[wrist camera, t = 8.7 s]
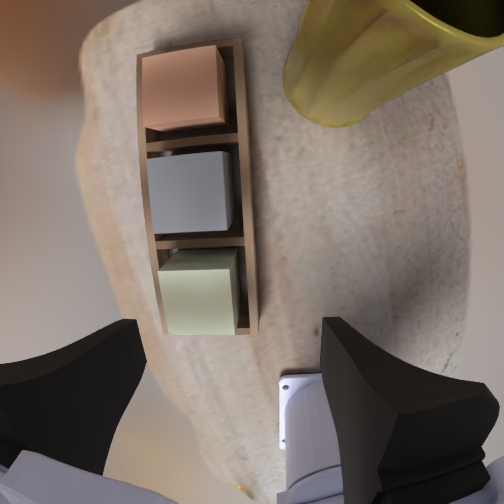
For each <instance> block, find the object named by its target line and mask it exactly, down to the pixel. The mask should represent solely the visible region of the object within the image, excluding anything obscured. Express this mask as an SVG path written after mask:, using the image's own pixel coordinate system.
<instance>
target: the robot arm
mask: <svg viewBox="0 0 504 504" xmlns="http://www.w3.org/2000/svg"><path fill="white" fill-rule="evenodd" d="M146 362H147V360H146V356H145V352H144V349H143V345H142V341H141V337H140V333H139V329H138V324H137V320H136V319H122V320H119V321H116V322H114V323H112V324H110V325H108V326H106V327H104V328H102V329H100V330H98V331H96V332H94V333H92V334H90V335H88V336H86V337H84V338H82V339H80V340H78V341H76V342H74V343H72V344H70V345H67V346H65V347H63V348H61V349H58V350H56V351H53V352H50V353H47V354H45V355H41V356H38V357H34V358H30V359H27V360H22V361H18V362H12V363H5V364H0V504H179V503H177V502H175V501H173V500H171V499H169V498H167V497H165V496H163V495H161V494H159V493H157V492H155V491H152V490H148V489H145V488H142V487H139V486H136V485H133V484H130V483H126V482H122V481H118V480H114V479H110V478H107V477H104V476H102V475H103V471H104V467H105V463H106V459H107V456H108V452H109V448H110V445H111V442H112V439H113V436H114V434H115V431H116V428H117V426H118V423H119V421H120V419H121V417H122V415H123V413H124V411H125V409H126V408H127V406H128V404H129V402H130V400H131V398H132V396H133V394H134V392H135V390H136V388H137V386H138V384H139V382H140V380H141V378H142V375H143V372H144V369H145V366H146ZM320 366H321V373H317V374H301V375H284V376H282V377H280V379H279V447H280V448H281V449H284V450H286V491H284V492H280V493H277V504H504V456H503V457H501V458H499V459H497V460H495V461H493V462H492V463H491V464H489V465H488V466H487V467H486V468H485V466H484V464H483V462H482V460H483V459H484V457H485V452H484V451H483V449H482V447H481V446H482V445H483V443H484V442H485V440H486V438H487V437H488V435H489V433H490V432H491V430H492V428H493V427H494V425H495V423H496V420H497V418H498V415H499V409H500V406H499V403H498V401H497V399H496V398H495V397H494V395H493V394H492V393H491V392H490V390H489V389H488V388H487V387H486V385H485V384H484V383H480V382H473V381H466V380H459V379H454V378H450V377H446V376H442V375H439V374H435V373H432V372H429V371H426V370H424V369H421V368H418V367H416V366H413V365H411V364H409V363H406V362H404V361H402V360H401V359H399V358H397V357H395V356H393V355H391V354H389V353H388V352H386V351H384V350H383V349H381V348H380V347H378V346H377V345H375V344H374V343H372V342H371V341H369V340H368V339H367V338H365V337H364V336H363V335H361V334H360V333H359V332H358V331H356V330H355V329H354V328H353V327H351V326H350V325H349V324H348V323H347V322H345V321H344V320H343V319H342V318H340V317H339V316H338V317H323V321H322V339H321V355H320ZM284 385H288V386H287V387H284Z"/></svg>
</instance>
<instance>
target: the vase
mask: <svg viewBox="0 0 504 504" xmlns="http://www.w3.org/2000/svg"><path fill="white" fill-rule="evenodd" d="M502 46H504V0H307V2H306V4H305V6H304V9H303V12H302V14H301V18H300V23H299V28H298V34H297V37H296V40H295V42H294V44H293V46H292V48H291V51H290V53H289V56H288V60H287V62H286V64H285V66H284V70H283V85H284V90H285V93H286V96H287V98H288V100H289V101H290V103H291V104H292V105H293V107H294V108H295V109H296V110H297V111H298V112H299V113H300V114H301V115H302V116H304V117H305V118H306V119H308V120H310V121H312V122H314V123H316V124H319V125H322V126H326V127H334V128H338V127H346V126H350V125H353V124H356V123H358V122H360V121H361V120H363V119H364V118H365V117H366V116H367V115H368V114H369V113H370V112H371V111H373V110H374V109H376V108H377V107H379V106H380V105H382V104H384V103H385V102H387V101H389V100H391V99H393V98H395V97H397V96H399V95H401V94H403V93H405V92H406V91H408V90H410V89H412V88H414V87H416V86H418V85H420V84H422V83H424V82H426V81H428V80H430V79H432V78H434V77H436V76H438V75H441V74H443V73H445V72H447V71H449V70H452V69H454V68H456V67H458V66H460V65H462V64H464V63H466V62H468V61H470V60H473V59H475V58H477V57H479V56H481V55H483V54H485V53H487V52H490V51H492V50H494V49H497V48H500V47H502Z"/></svg>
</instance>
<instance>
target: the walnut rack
mask: <svg viewBox="0 0 504 504" xmlns="http://www.w3.org/2000/svg"><path fill="white" fill-rule="evenodd" d="M227 57H234V71H235V89H236V107H237V125H238V133H230V134H218V135H207V136H198V137H189V138H180V139H173V140H165V141H158V142H157V130H158V131H162V132H166V133H170V132H178V131H186V130H194V129H203V128H213V127H223V126H229V113H228V95H227V75H226V66H225V64H224V62H223V59H222V58H227ZM137 127H138V147H139V163H140V176H141V187H142V197H143V207H144V216H145V224H146V232H147V240H148V247H149V254H150V261H151V268H152V274H153V280H154V286H155V292H156V297H157V303H158V308H159V313H160V319H161V324H162V328H163V333H164V334H179V335H258V334H259V301H258V282H257V264H256V245H255V227H254V209H253V191H252V173H251V155H250V138H249V121H248V104H247V87H246V70H245V53H244V46H243V42H242V38H233V39H223V40H214V41H207V42H199V43H193V44H187V45H181V46H175V47H170V48H165V49H160V50H155V51H151V52H146V53H142V54H138V55H137ZM234 144H239V159H240V176H241V193H242V209H243V225H244V230H231V231H210V232H191V233H173V234H165V233H160V234H154V233H153V225H152V216H151V206H150V196H149V185H148V172H147V159H151V158H158V152H165V151H173V150H181V149H190V148H200V147H210V146H221V145H234ZM223 246H245V257H246V272H247V288H248V303H249V314H239V313H240V308H241V296H240V283H239V270H238V256H237V249H213V250H188V251H177V252H176V253H175V254H174V255H173V256H172V257H171V258H170V259H169V258H168V250H167V249H176V248H199V247H223Z"/></svg>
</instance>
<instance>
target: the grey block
mask: <svg viewBox="0 0 504 504" xmlns="http://www.w3.org/2000/svg"><path fill="white" fill-rule="evenodd" d="M147 172H148V185H149V196H150V206H151V216H152V225H153V233H154V234H160V233H179V232H199V231H220V230H228V228H229V226H230V225H231V223H232V221H233V220H234V218H235V205H234V188H233V171H232V154H231V153H227V152H224V151H217V152H205V153H195V154H185V155H176V156H167V157H159V158H151V159H147Z"/></svg>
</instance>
